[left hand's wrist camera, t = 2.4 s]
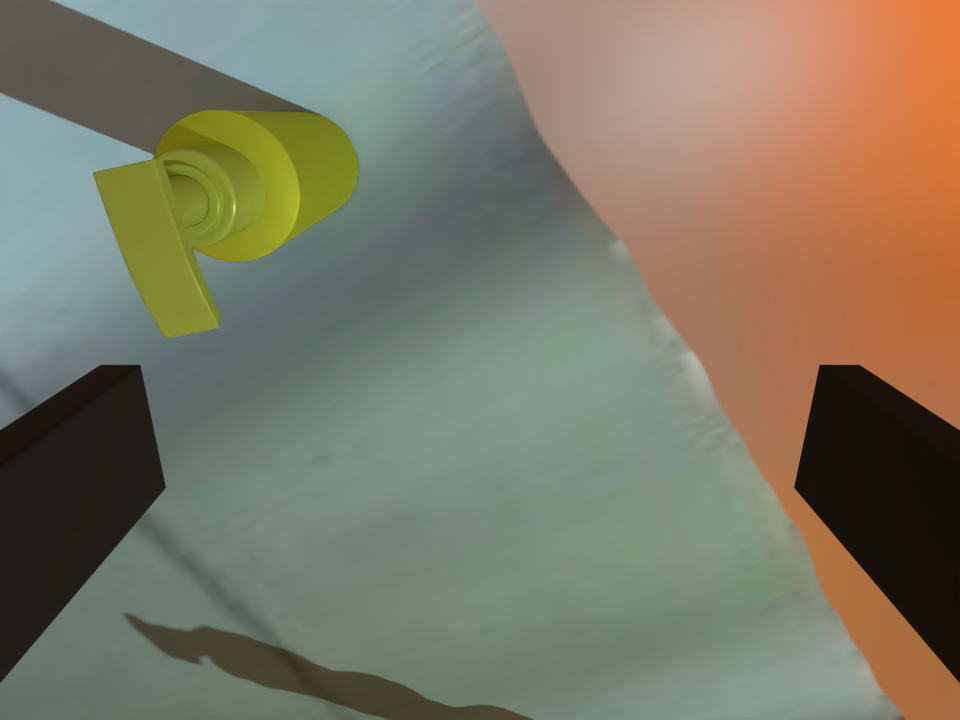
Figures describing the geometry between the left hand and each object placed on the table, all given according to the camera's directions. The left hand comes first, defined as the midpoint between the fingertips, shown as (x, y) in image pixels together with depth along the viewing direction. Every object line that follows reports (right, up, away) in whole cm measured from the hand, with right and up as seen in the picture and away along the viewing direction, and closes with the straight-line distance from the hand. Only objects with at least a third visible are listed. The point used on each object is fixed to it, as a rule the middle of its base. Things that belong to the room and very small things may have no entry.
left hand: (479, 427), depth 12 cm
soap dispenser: (-10, +12, +25) cm, 30 cm away
